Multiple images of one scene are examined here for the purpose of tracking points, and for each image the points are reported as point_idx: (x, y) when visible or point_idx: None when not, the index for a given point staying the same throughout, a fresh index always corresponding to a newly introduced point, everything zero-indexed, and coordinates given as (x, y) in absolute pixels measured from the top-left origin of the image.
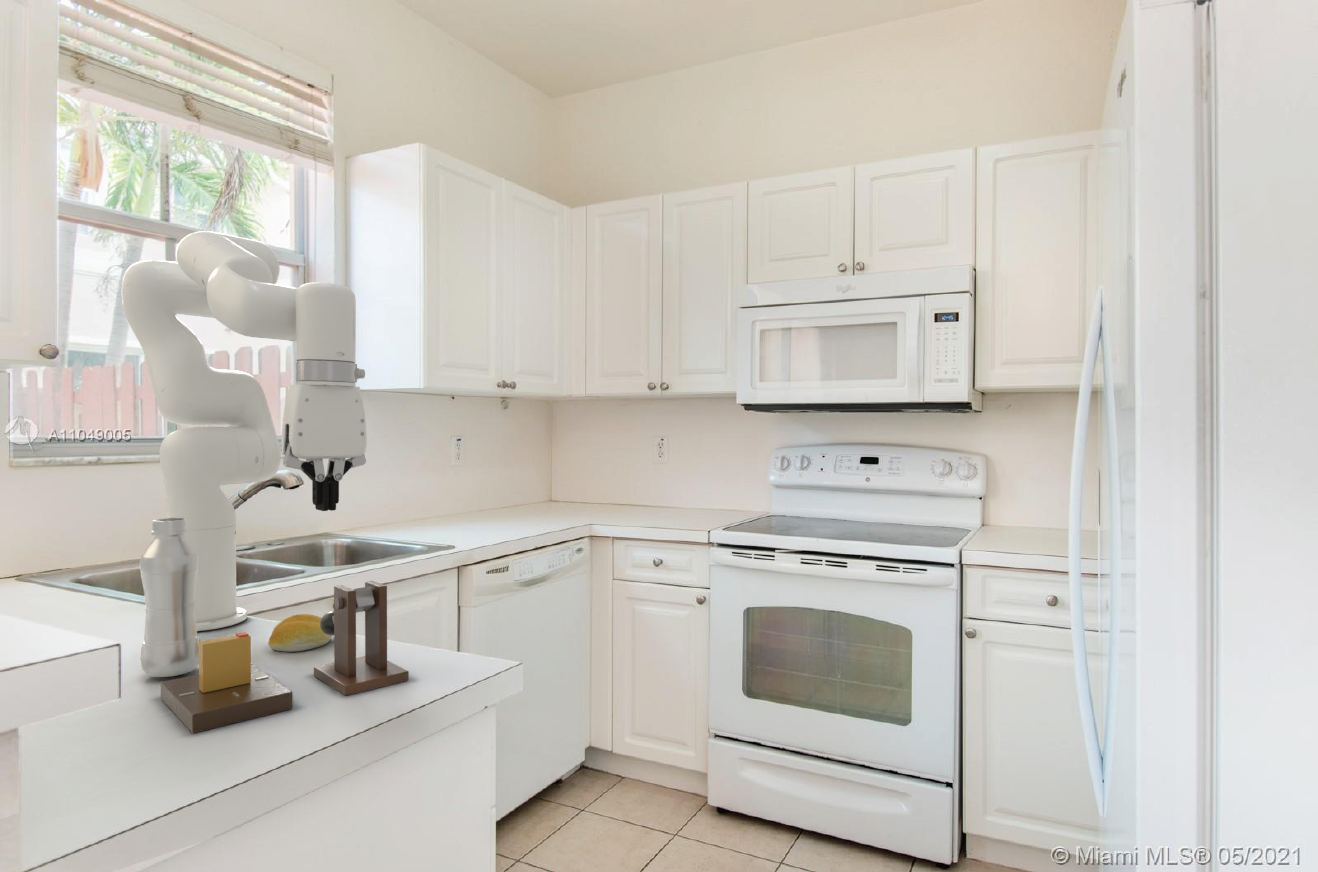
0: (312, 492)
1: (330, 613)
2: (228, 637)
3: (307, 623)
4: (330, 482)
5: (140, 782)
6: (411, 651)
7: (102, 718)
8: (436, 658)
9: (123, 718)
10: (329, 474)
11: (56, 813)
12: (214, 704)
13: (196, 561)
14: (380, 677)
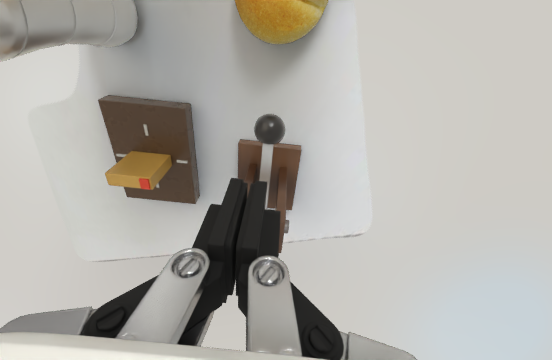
0: (202, 224)
1: (263, 139)
2: (132, 179)
3: (280, 19)
4: (237, 295)
5: (109, 228)
6: (350, 140)
7: (66, 109)
8: (347, 176)
9: (83, 123)
10: (245, 300)
11: (76, 231)
12: (141, 189)
13: (12, 45)
14: (267, 207)
